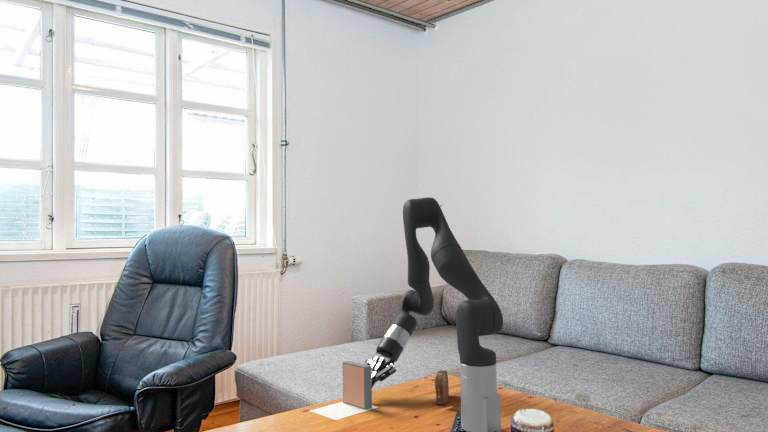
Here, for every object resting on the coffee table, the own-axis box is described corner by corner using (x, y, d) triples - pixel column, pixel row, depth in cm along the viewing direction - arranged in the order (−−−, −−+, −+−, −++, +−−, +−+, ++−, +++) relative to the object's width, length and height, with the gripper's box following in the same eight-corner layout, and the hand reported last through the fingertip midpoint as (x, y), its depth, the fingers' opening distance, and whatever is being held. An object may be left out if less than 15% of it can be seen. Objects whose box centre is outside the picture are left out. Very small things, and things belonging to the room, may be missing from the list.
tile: (371, 407, 161) (371, 365, 161) (365, 409, 159) (364, 367, 159) (349, 400, 168) (348, 360, 168) (342, 402, 166) (342, 362, 167)
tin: (445, 408, 161) (444, 379, 161) (434, 408, 162) (433, 378, 162) (449, 394, 176) (448, 367, 176) (439, 394, 176) (439, 367, 177)
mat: (378, 409, 161) (378, 407, 161) (335, 422, 150) (335, 420, 150) (351, 401, 170) (351, 399, 170) (309, 412, 159) (309, 410, 159)
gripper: (372, 333, 178) (343, 379, 169) (402, 338, 168) (373, 386, 159) (384, 347, 181) (357, 393, 172) (414, 353, 172) (386, 401, 163)
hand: (365, 390), depth 166 cm, fingers closed
